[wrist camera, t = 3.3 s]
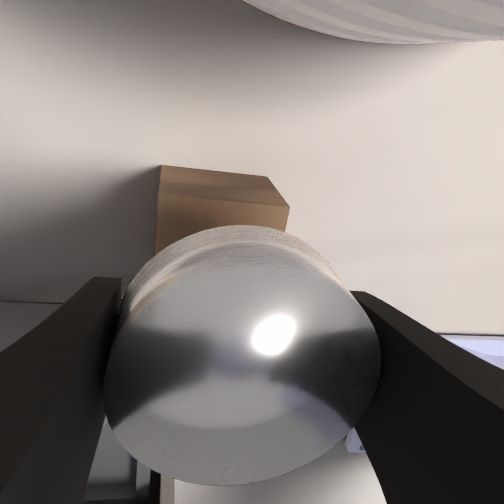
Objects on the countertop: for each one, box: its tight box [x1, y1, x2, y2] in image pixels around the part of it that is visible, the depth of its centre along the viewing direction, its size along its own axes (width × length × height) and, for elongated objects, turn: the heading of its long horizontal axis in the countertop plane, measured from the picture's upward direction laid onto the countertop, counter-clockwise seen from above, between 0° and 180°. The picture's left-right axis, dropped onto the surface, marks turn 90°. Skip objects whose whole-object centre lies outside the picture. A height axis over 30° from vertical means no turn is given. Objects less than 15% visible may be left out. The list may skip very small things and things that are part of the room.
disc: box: [103, 225, 381, 486], centre depth 9 cm, size 6×6×2 cm
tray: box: [0, 302, 151, 504], centre depth 17 cm, size 12×10×4 cm
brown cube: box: [154, 165, 290, 256], centre depth 15 cm, size 4×4×4 cm
